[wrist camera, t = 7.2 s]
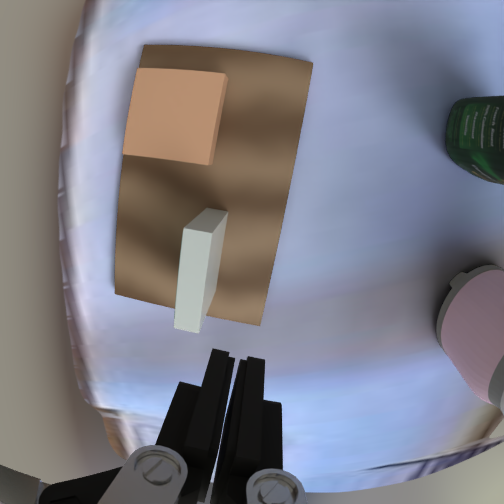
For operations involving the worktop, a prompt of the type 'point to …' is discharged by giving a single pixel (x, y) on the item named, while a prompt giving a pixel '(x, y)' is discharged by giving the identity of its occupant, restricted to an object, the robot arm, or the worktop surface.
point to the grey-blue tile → (199, 268)
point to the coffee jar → (478, 136)
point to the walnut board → (216, 183)
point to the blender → (476, 330)
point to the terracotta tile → (175, 114)
